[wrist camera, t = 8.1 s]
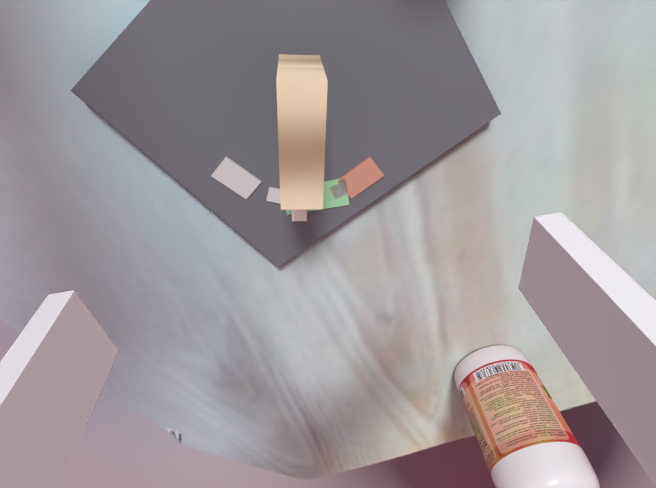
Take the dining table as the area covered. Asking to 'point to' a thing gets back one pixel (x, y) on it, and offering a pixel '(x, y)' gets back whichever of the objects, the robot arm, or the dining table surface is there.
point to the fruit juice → (519, 423)
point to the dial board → (261, 101)
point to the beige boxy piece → (301, 132)
